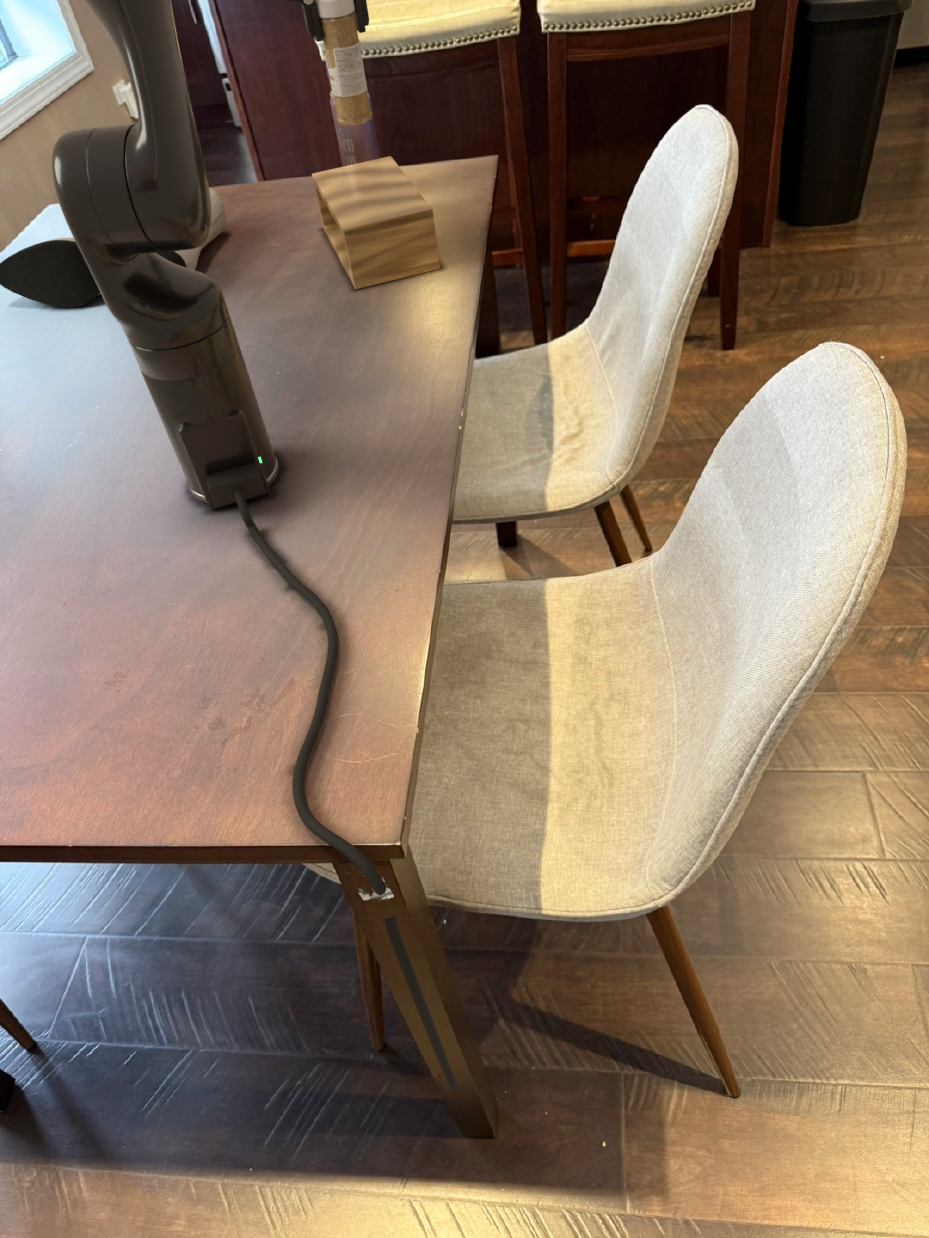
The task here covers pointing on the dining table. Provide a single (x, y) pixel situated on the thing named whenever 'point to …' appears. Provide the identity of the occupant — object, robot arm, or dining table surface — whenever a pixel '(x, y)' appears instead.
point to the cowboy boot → (79, 267)
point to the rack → (376, 221)
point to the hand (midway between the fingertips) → (340, 35)
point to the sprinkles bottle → (344, 61)
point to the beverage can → (356, 139)
